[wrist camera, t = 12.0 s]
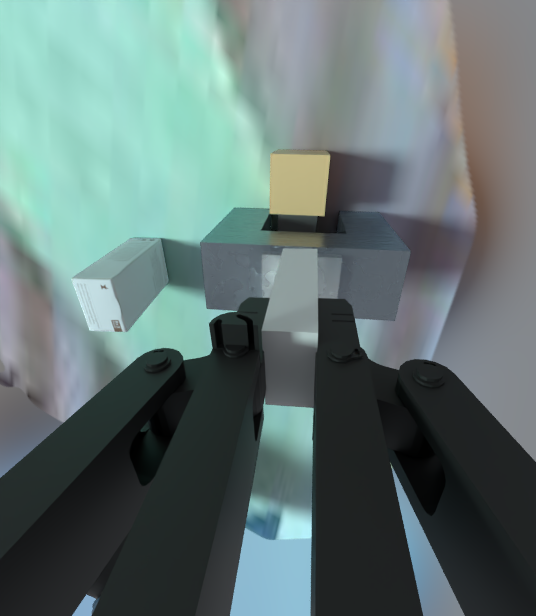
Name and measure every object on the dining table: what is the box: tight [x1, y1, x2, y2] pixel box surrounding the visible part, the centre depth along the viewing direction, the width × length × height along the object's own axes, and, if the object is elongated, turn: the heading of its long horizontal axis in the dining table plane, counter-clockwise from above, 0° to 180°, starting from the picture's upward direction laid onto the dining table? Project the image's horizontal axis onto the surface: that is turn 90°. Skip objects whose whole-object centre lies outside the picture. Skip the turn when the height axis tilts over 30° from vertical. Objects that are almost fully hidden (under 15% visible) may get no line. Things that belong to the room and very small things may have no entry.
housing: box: [200, 208, 411, 321], centre depth 31 cm, size 16×6×14 cm, turn 90°
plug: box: [270, 149, 330, 233], centre depth 34 cm, size 5×16×7 cm, turn 179°
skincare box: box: [71, 238, 169, 332], centre depth 36 cm, size 6×4×12 cm
